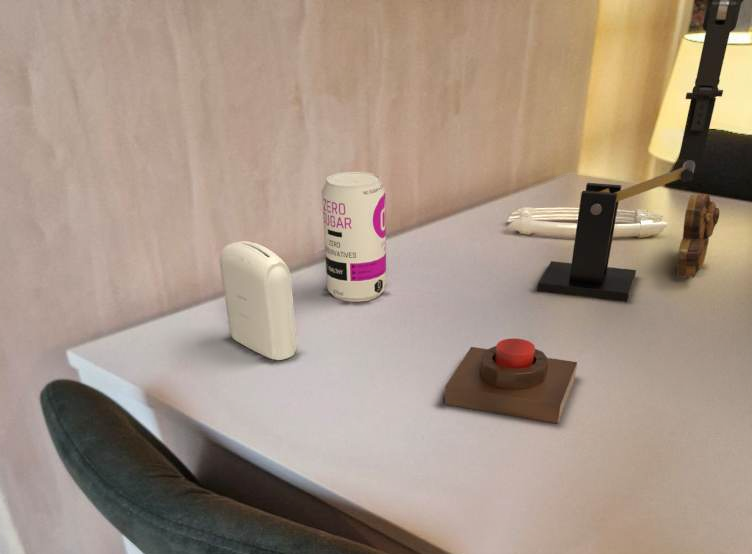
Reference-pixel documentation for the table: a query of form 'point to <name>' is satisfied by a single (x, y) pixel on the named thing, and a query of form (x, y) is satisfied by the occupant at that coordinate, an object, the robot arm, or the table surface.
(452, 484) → the table surface
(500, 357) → the button
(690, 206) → the wooden carving
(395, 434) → the table surface
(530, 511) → the table surface
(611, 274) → the bracket
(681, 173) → the lever
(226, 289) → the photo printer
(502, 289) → the table surface
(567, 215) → the white piece
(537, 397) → the button block
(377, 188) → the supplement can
